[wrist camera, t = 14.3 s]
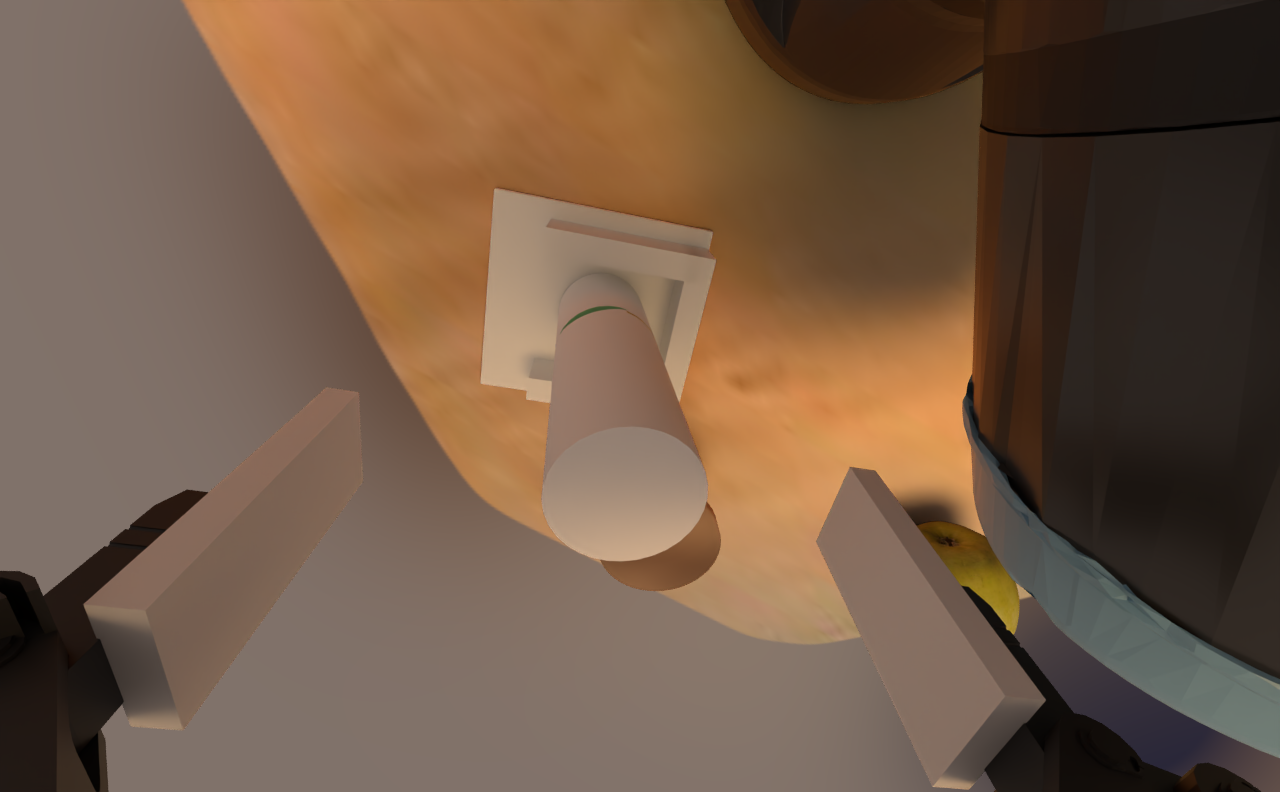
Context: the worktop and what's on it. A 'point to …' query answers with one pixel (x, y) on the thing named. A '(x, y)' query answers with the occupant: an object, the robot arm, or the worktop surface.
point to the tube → (616, 431)
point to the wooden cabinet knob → (673, 559)
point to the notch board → (568, 250)
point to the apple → (975, 567)
